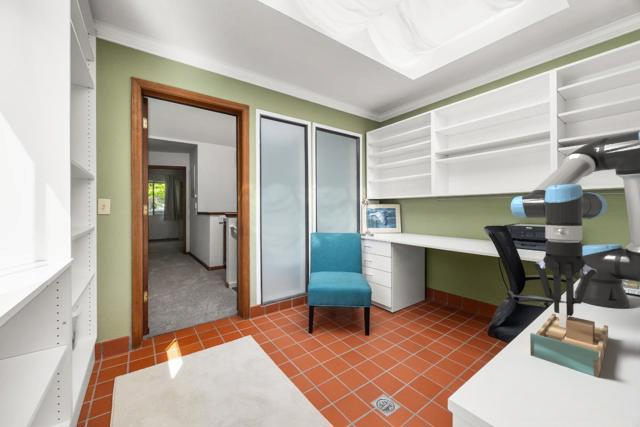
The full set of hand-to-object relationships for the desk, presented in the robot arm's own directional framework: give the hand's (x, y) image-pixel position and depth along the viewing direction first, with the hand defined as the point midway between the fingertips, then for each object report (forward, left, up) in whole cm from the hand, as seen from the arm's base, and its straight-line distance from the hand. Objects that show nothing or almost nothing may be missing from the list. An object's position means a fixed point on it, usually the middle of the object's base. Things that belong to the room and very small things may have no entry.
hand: (563, 325), depth 73 cm
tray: (0, +2, -5) cm, 5 cm away
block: (-1, +3, -2) cm, 4 cm away
